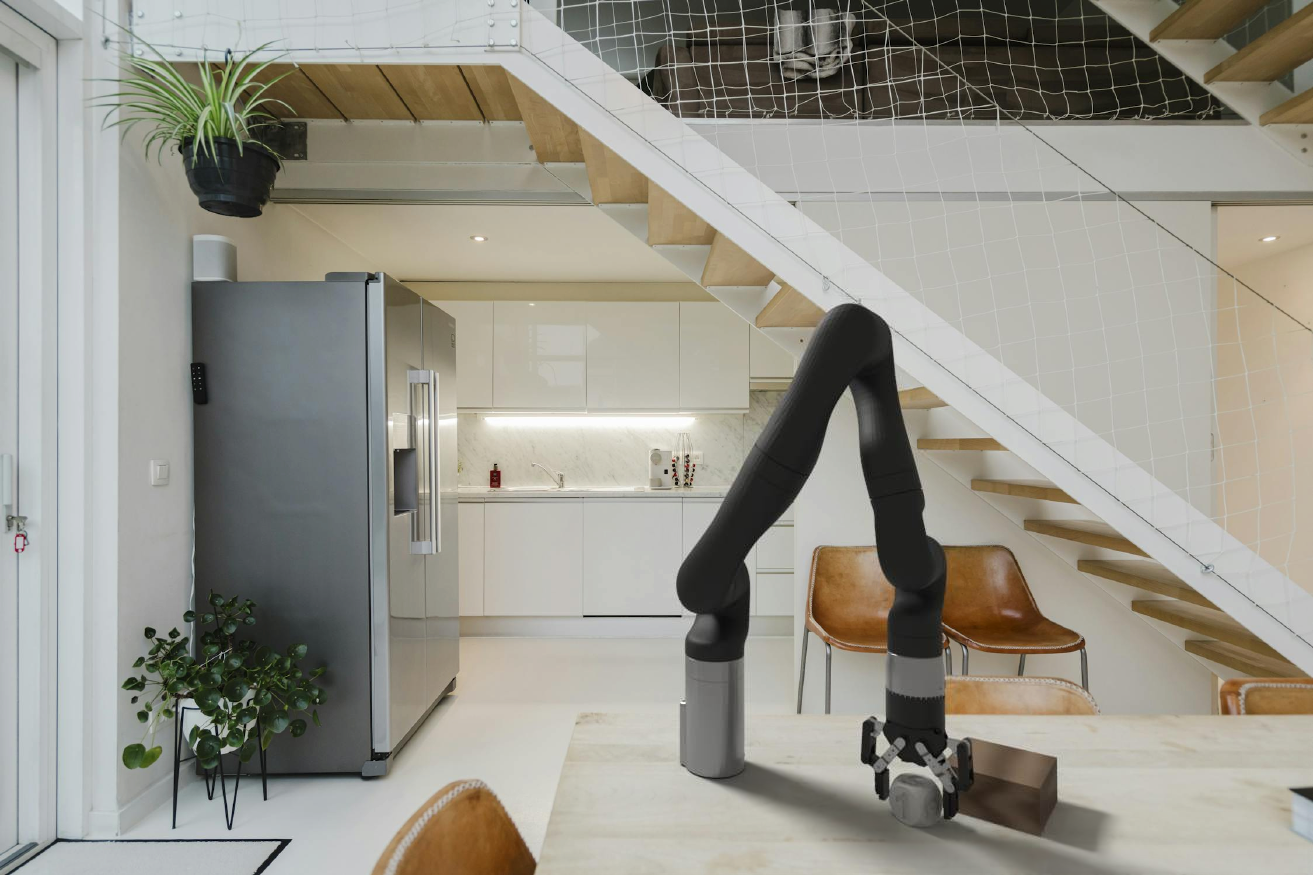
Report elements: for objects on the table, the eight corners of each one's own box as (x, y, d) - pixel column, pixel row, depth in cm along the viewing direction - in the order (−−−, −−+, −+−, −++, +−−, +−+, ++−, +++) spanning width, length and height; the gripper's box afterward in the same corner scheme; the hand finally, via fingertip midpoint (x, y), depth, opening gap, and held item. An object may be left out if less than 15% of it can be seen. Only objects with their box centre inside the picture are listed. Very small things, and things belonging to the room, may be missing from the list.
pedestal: (942, 807, 100) (942, 763, 100) (967, 776, 109) (966, 736, 109) (1040, 836, 92) (1039, 788, 92) (1057, 800, 102) (1057, 757, 102)
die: (888, 816, 97) (888, 778, 97) (910, 805, 100) (910, 769, 100) (921, 832, 93) (921, 793, 93) (943, 820, 96) (943, 782, 96)
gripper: (852, 682, 99) (853, 802, 98) (962, 704, 90) (963, 837, 89) (873, 668, 104) (874, 782, 104) (978, 688, 96) (980, 813, 95)
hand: (915, 807), depth 97 cm, fingers open, 8 cm apart
